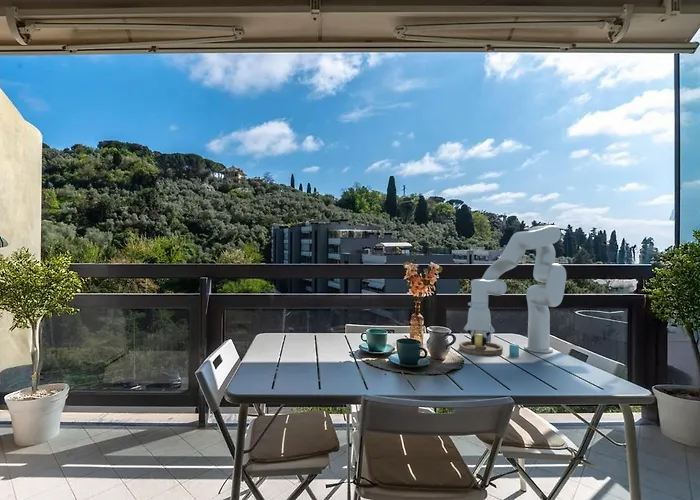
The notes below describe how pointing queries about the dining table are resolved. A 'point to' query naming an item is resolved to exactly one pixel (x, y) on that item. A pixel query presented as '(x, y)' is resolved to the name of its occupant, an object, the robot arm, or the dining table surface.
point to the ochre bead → (478, 340)
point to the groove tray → (481, 349)
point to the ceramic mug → (483, 335)
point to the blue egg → (514, 350)
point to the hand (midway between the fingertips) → (478, 344)
